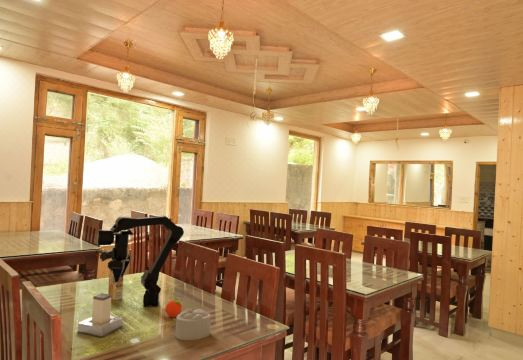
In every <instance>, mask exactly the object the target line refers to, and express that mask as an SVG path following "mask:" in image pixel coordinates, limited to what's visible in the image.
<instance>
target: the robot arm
mask: <svg viewBox="0 0 523 360" xmlns="http://www.w3.org/2000/svg"><path fill="white" fill-rule="evenodd" d="M159 225H162V226H163V227H164V228H165V229H166V230H167V233H166V237H165V241H164V243H163V245H162V247H161V248H160V250H159V253H158V254H157V256H156V258H155V260H154V262H153V263H152V265H151V267H150V268H149V269H148V270H147V269H144V272H143V274H142V275H141V276H140V278H141V279H140V284H141V286H142V287H144V289H145V292H144V293H143V298H142V304H143V307H158V306H159V304H160V292H161V291H162V288H161V287H160V286H159V285H158V282H159V278H160V272H161V270H162V268H163V267H164V264H165V262H166V260H167V259H168V257H169V255H170V253H171V252H172V250H173V248H174V246H175V245H176V244H177V243H178V242H179V241H180V239H182V237H184V233H185V231H184V229H183V227H181V226H179V225H176V224H175V222H173V221H172V220H171V219H170V218H169V217H168V216H166V215H159V216H148V217H147V216H146V217H132V216H131V217H130V216H123V215H122V216H119V217H117V218H116V220H115V223H114V224H113V225H112V226H111V228H110V229H98V230H97V234H96V242H95V243H96V247H97V246H111V245H112V244H113V243H114V246H113V248H112V249H110V250H108V251H107V250H104V251H101V252H100V254H99V259H101V262H104V261H106V260H109V261H108V262H107V268H108V270H109V269H111V270H112V271H113V275H114V279H115V282H118V281H119V278H120V277H123V275H124V276H125V274H126V272H127V269H128V268H129V265H130V263H131V261H132V259H133V257H132V256H133V255H132V254H131V253H130V252H129V249H130V246H129V238H130V236H133V235H134V234H135V233H134V232H132V229H134V228H137V227H145V226H146V227H148V226H159ZM128 252H129V253H128ZM110 259H111V260H110Z"/></svg>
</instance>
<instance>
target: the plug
mask: <svg viewBox="0 0 523 360" xmlns="http://www.w3.org/2000/svg"><path fill="white" fill-rule="evenodd" d="M92 298H93V299H92V313H91V314H92V316H91V317H92V323H95V324H100V325H102V324H104V323H107V322H109V321H110V316H111V308H112V307H111V306H112V298H111V295H110V294H108V293H103V292H102V293H99V294H96V295H94V296H93V297H92Z"/></svg>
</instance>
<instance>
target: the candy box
mask: <svg viewBox="0 0 523 360" xmlns="http://www.w3.org/2000/svg"><path fill="white" fill-rule="evenodd" d="M108 271H109V272H108V286H107V294H110V295H111V300H113V301H118V300H123V296H124V295H123V294H124V276H125V274H124V275H123V277H120V278H119V281H118V282H115V279H114V275H113V271H112V270H111V269H109V268H108Z"/></svg>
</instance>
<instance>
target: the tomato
mask: <svg viewBox="0 0 523 360" xmlns="http://www.w3.org/2000/svg"><path fill="white" fill-rule="evenodd" d="M183 307H184V305H183V304H182V303H181V302H180V301H179V300H177V299H172V300H170V301H169V302H168V303H167V304H166V305H165V313H166V315H167V316H168V317H170V318H175V317H177V316H178V315H179V314H181V313H182V312H183V311H182V310H183Z"/></svg>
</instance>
